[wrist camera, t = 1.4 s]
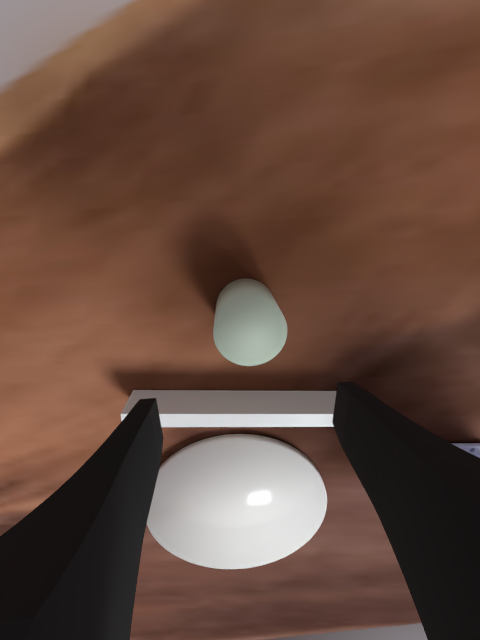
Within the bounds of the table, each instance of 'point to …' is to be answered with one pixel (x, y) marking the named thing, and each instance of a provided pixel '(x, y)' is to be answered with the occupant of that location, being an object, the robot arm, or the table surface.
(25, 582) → the robot arm
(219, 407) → the light grey rectangular bar
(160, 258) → the table surface
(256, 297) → the green cylinder
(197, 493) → the white plate
